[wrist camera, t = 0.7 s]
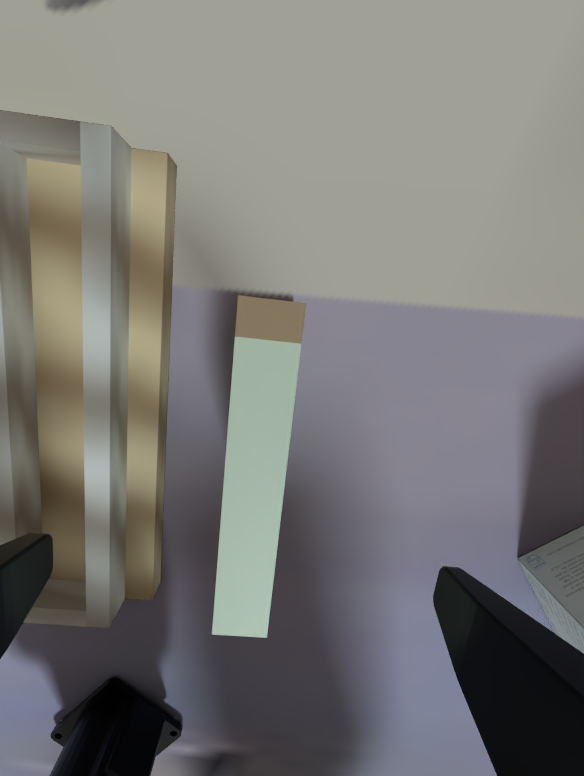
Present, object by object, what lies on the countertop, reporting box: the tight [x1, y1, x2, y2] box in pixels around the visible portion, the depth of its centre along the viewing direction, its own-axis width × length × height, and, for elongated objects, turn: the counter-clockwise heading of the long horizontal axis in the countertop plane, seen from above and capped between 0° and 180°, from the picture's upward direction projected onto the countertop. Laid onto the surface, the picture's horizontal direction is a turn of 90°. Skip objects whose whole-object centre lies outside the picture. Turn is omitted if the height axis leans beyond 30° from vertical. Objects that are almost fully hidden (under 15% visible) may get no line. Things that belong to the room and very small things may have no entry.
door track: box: [0, 110, 177, 628], centre depth 18 cm, size 24×9×4 cm, turn 174°
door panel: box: [212, 295, 306, 638], centre depth 16 cm, size 12×2×9 cm, turn 174°
